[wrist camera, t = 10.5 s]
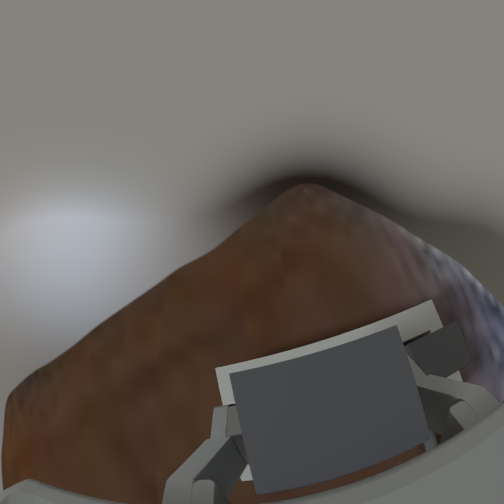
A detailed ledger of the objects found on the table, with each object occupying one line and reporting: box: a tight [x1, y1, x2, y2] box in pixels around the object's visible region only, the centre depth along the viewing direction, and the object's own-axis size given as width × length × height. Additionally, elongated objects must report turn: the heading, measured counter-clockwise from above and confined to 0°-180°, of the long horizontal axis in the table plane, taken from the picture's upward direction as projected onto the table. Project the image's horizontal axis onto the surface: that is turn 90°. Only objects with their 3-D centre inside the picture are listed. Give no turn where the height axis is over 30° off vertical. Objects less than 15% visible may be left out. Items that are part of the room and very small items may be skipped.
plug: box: [229, 325, 430, 495], centre depth 9 cm, size 3×4×9 cm
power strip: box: [215, 299, 473, 481], centre depth 14 cm, size 20×18×8 cm
